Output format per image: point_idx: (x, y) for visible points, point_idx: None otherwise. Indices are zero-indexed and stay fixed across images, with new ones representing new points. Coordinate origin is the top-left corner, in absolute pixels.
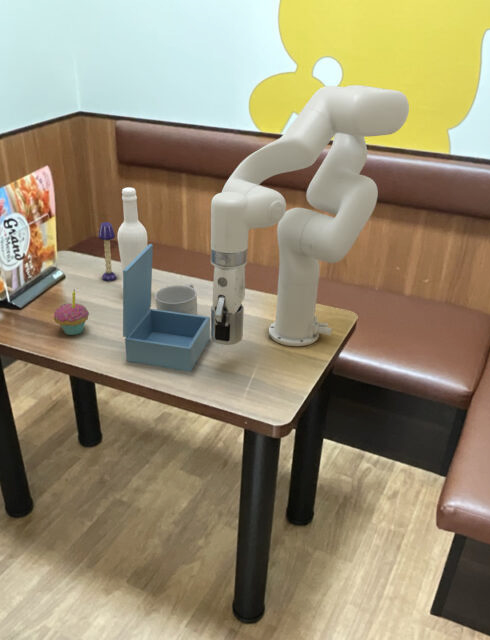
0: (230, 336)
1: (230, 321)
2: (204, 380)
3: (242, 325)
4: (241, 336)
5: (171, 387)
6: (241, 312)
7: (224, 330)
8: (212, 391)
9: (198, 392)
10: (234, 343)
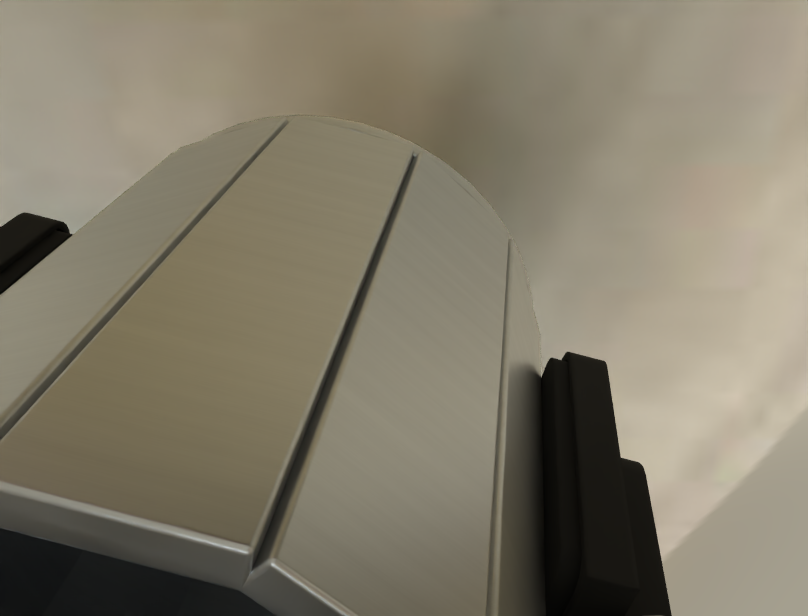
0: (526, 359)
1: (531, 603)
2: (576, 313)
3: (267, 211)
4: (365, 147)
5: (655, 504)
6: (294, 525)
7: (661, 583)
8: (747, 255)
9: (745, 352)
10: (507, 232)
